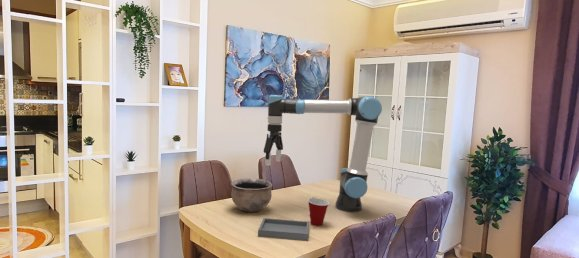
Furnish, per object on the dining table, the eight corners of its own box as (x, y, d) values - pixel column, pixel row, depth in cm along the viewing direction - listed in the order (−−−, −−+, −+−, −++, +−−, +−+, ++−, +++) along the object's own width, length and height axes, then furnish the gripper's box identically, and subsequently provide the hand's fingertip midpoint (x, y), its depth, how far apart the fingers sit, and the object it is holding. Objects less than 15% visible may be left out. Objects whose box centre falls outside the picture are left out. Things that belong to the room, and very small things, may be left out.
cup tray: (308, 227, 173) (309, 221, 173) (307, 240, 157) (308, 233, 157) (263, 224, 175) (263, 217, 174) (257, 236, 159) (258, 229, 158)
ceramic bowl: (275, 206, 203) (277, 180, 202) (264, 218, 182) (265, 189, 181) (238, 202, 208) (239, 176, 207) (223, 213, 187) (224, 185, 186)
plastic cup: (326, 229, 172) (328, 204, 171) (304, 226, 174) (306, 202, 173) (329, 221, 183) (330, 198, 182) (307, 219, 185) (309, 196, 184)
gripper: (277, 122, 205) (276, 159, 206) (257, 124, 181) (256, 166, 183) (289, 123, 202) (288, 160, 204) (271, 125, 179) (269, 167, 181)
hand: (273, 163), depth 194 cm, fingers open, 13 cm apart
